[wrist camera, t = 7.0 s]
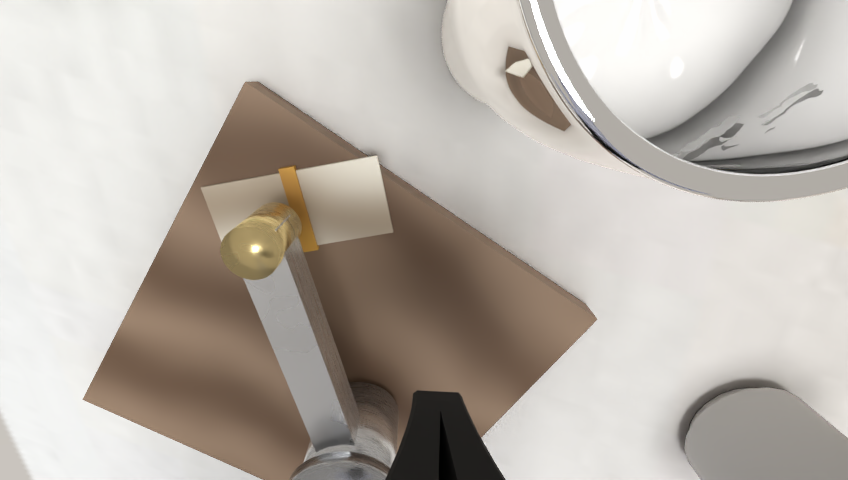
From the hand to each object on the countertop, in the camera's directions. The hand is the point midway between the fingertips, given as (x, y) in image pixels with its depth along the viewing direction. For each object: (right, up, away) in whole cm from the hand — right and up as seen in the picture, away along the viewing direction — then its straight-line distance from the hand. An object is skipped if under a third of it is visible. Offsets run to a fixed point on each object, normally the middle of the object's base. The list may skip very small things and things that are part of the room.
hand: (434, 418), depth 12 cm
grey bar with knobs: (-5, 0, +9) cm, 10 cm away
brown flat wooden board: (-5, -1, +11) cm, 12 cm away
